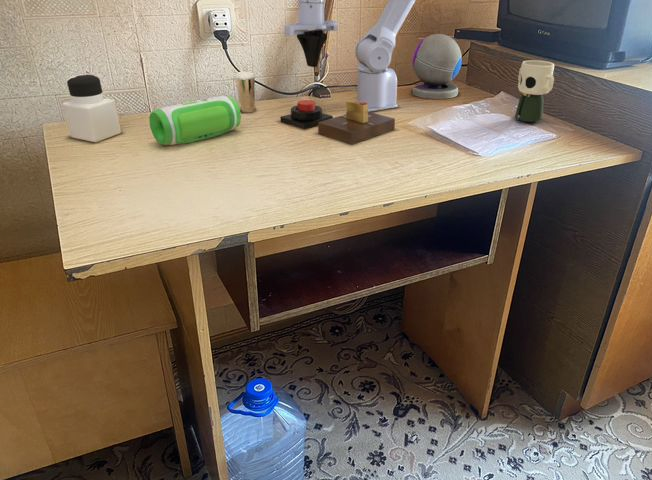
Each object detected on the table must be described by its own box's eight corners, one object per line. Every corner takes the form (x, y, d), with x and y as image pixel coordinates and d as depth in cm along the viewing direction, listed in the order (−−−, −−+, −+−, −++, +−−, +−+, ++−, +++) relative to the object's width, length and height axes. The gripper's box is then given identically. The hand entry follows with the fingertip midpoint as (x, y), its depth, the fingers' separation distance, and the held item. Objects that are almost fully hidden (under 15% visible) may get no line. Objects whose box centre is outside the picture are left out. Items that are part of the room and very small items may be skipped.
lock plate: (361, 120, 127) (361, 108, 126) (394, 129, 122) (395, 117, 120) (318, 133, 119) (317, 121, 117) (351, 144, 113) (352, 131, 112)
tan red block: (346, 118, 120) (346, 99, 118) (351, 117, 121) (351, 98, 119) (363, 123, 117) (363, 104, 115) (368, 121, 118) (368, 103, 116)
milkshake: (260, 107, 135) (257, 65, 130) (254, 113, 130) (251, 70, 125) (242, 106, 135) (238, 64, 130) (236, 113, 131) (231, 69, 125)
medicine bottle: (122, 133, 116) (109, 74, 110) (95, 143, 111) (80, 82, 104) (97, 128, 119) (83, 71, 112) (70, 137, 113) (54, 78, 107)
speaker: (225, 125, 122) (221, 91, 118) (244, 133, 118) (241, 97, 114) (151, 142, 112) (144, 105, 108) (169, 151, 107) (162, 113, 103)
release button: (306, 106, 127) (306, 98, 126) (318, 110, 125) (318, 102, 124) (294, 109, 124) (293, 102, 123) (306, 113, 122) (305, 105, 121)
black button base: (309, 114, 131) (308, 101, 129) (332, 121, 126) (332, 108, 125) (280, 121, 125) (279, 108, 124) (304, 129, 121) (303, 116, 119)
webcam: (419, 85, 157) (423, 29, 150) (463, 90, 153) (469, 32, 145) (404, 95, 147) (408, 35, 139) (450, 101, 143) (457, 40, 135)
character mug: (501, 116, 133) (510, 59, 126) (524, 112, 135) (533, 57, 128) (531, 128, 124) (543, 69, 117) (555, 125, 127) (567, 66, 120)
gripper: (298, 5, 114) (300, 73, 121) (347, 2, 123) (346, 65, 130) (277, 2, 118) (279, 67, 125) (325, -2, 127) (325, 60, 134)
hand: (312, 66), depth 128 cm, fingers closed
